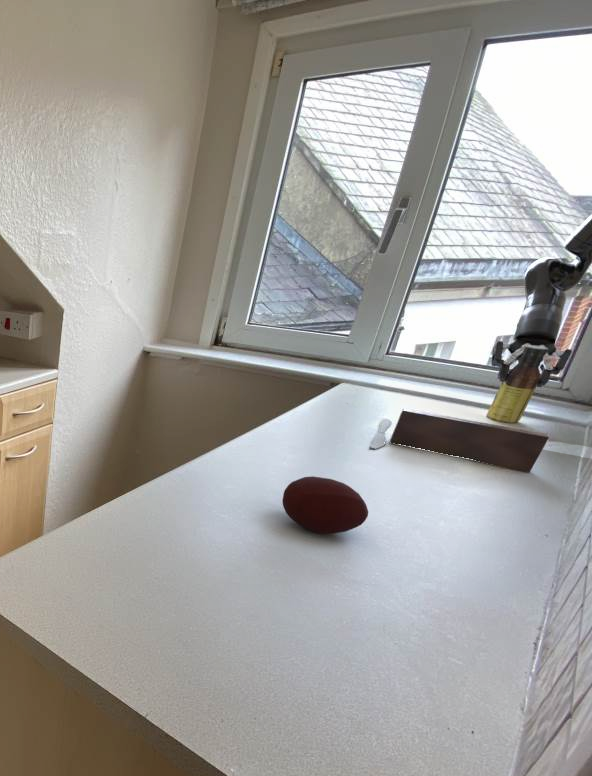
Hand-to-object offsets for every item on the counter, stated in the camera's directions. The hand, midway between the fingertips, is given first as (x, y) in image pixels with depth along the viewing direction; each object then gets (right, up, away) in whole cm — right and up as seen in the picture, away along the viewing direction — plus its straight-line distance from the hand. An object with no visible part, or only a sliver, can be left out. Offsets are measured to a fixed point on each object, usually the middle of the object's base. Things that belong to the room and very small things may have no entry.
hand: (521, 382), depth 134 cm
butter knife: (-36, -13, -2) cm, 39 cm away
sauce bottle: (+1, -10, +6) cm, 12 cm away
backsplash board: (-28, -19, -13) cm, 36 cm away
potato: (-80, -32, -43) cm, 96 cm away
